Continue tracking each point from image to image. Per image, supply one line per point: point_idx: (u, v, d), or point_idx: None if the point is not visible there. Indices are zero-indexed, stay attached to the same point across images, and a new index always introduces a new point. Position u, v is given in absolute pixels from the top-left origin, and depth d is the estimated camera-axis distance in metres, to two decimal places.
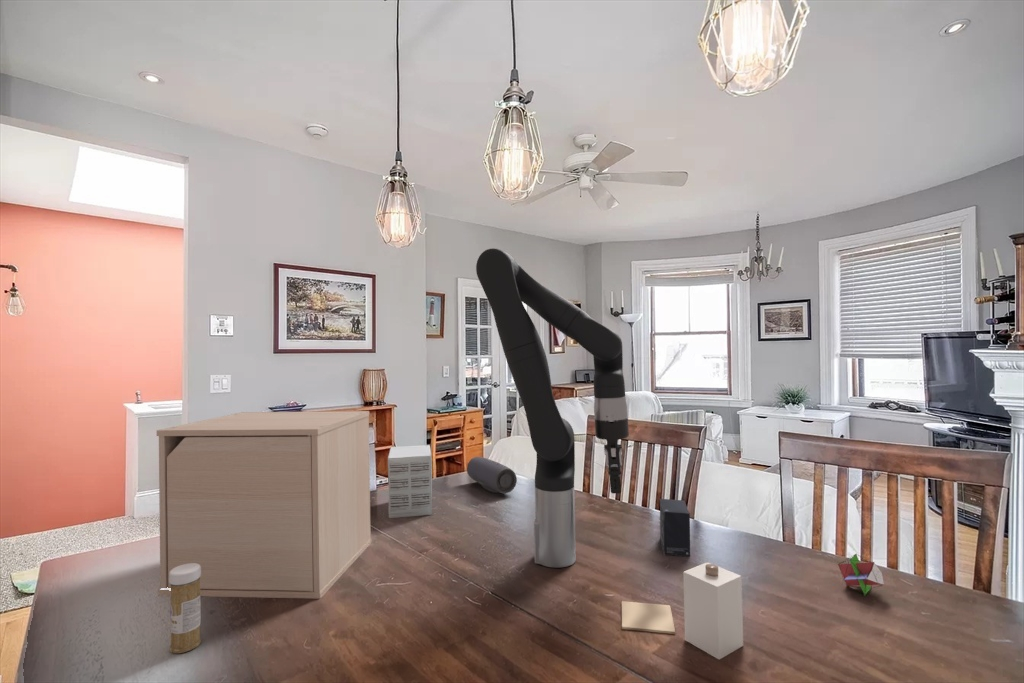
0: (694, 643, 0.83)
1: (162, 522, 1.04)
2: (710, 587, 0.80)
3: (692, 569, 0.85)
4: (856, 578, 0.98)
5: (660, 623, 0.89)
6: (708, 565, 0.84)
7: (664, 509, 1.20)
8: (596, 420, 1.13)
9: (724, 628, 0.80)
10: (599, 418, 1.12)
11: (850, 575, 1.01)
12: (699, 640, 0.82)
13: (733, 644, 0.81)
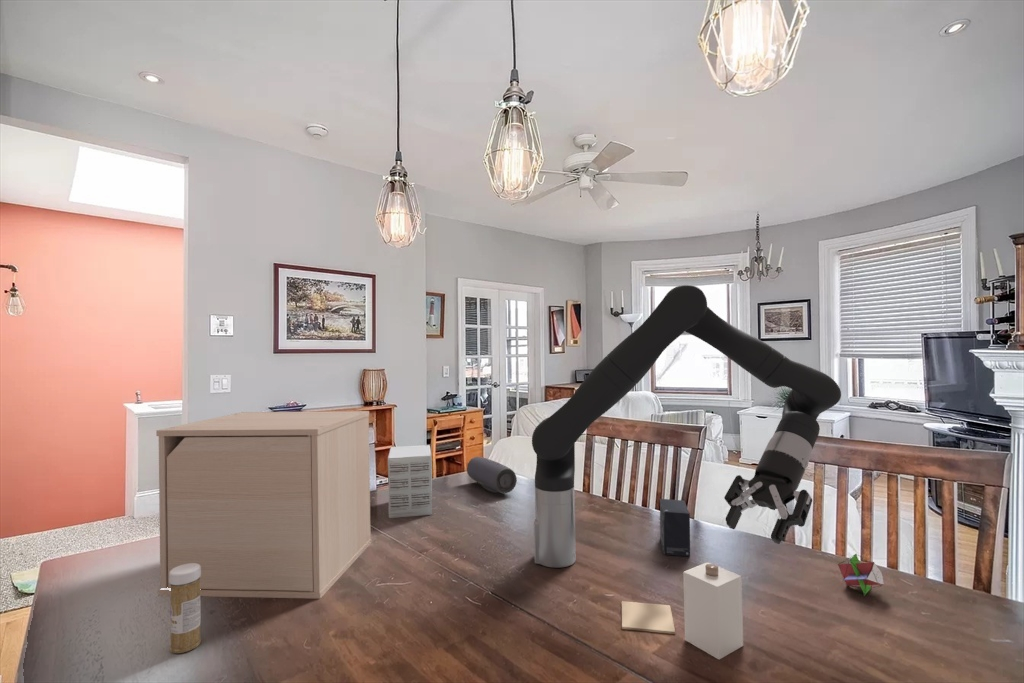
0: (694, 643, 0.83)
1: (162, 523, 1.04)
2: (710, 587, 0.80)
3: (692, 569, 0.85)
4: (856, 578, 0.98)
5: (660, 623, 0.89)
6: (708, 565, 0.84)
7: (664, 509, 1.20)
8: (785, 454, 0.93)
9: (724, 628, 0.80)
10: (793, 454, 0.93)
11: (850, 575, 1.01)
12: (699, 640, 0.82)
13: (733, 644, 0.81)
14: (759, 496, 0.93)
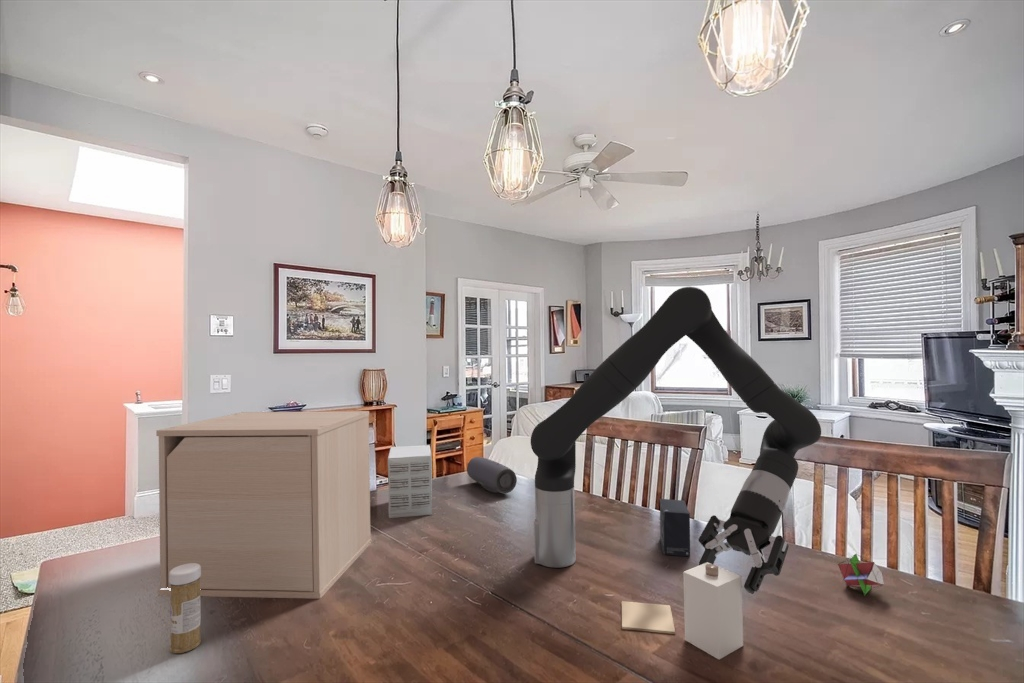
0: (694, 643, 0.83)
1: (162, 523, 1.04)
2: (710, 587, 0.80)
3: (692, 569, 0.85)
4: (856, 578, 0.98)
5: (660, 623, 0.89)
6: (708, 565, 0.84)
7: (664, 509, 1.20)
8: (761, 495, 0.89)
9: (724, 628, 0.80)
10: (769, 496, 0.89)
11: (850, 575, 1.01)
12: (699, 640, 0.82)
13: (733, 644, 0.81)
14: (734, 540, 0.89)
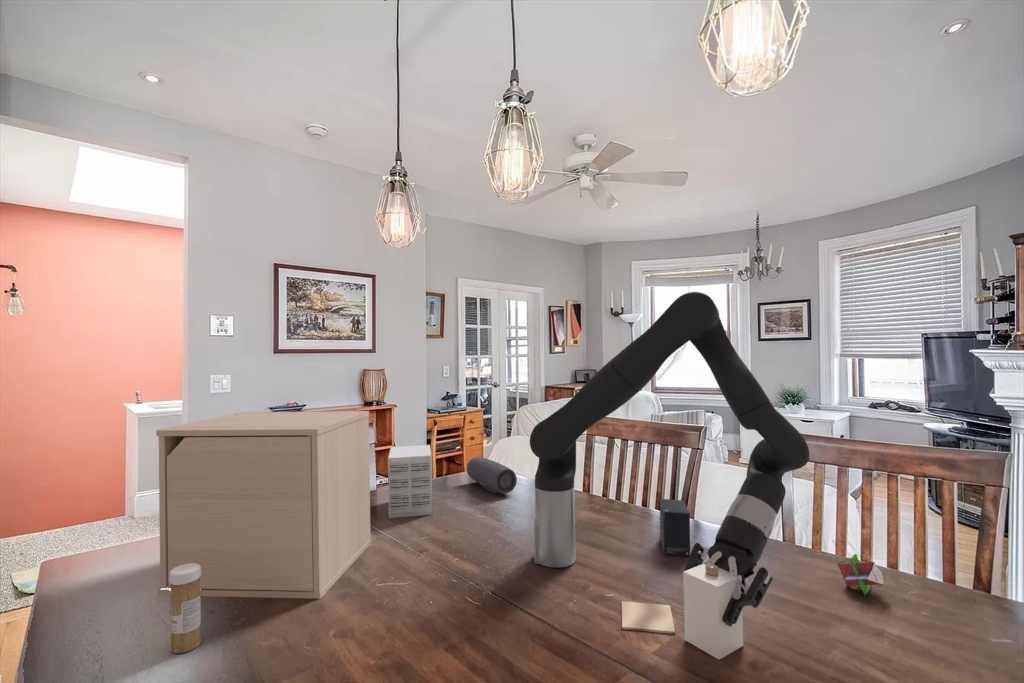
0: (694, 643, 0.83)
1: (162, 523, 1.04)
2: (710, 587, 0.80)
3: (692, 569, 0.85)
4: (856, 578, 0.98)
5: (660, 623, 0.89)
6: (708, 565, 0.84)
7: (664, 509, 1.20)
8: (746, 521, 0.86)
9: (724, 628, 0.80)
10: (754, 523, 0.86)
11: (850, 575, 1.01)
12: (699, 640, 0.82)
13: (733, 644, 0.81)
14: None
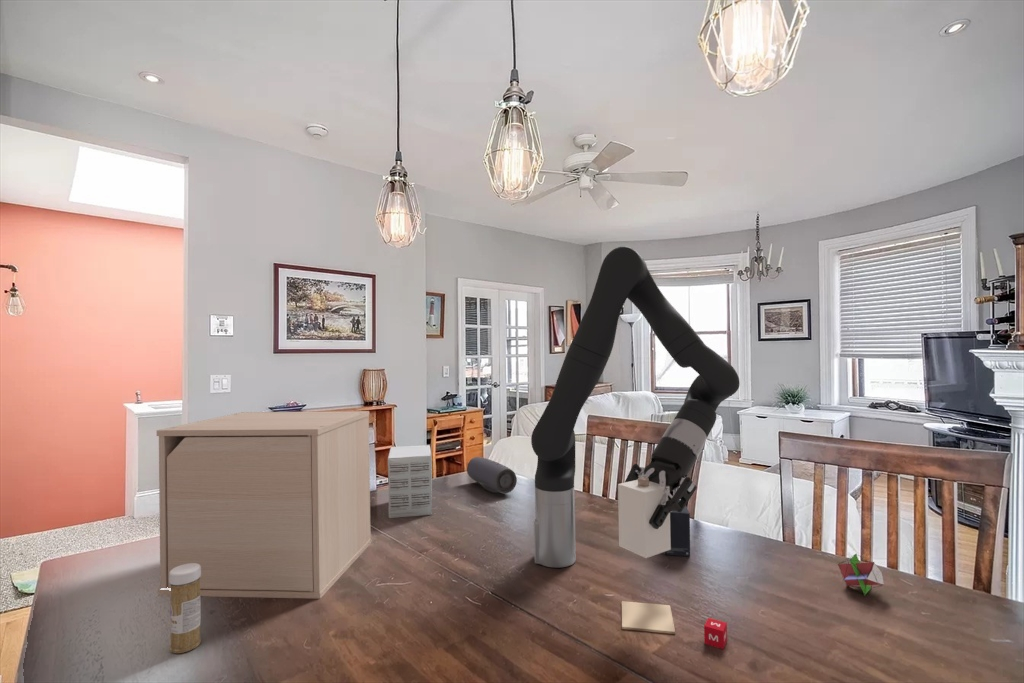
0: (626, 547, 0.91)
1: (162, 522, 1.04)
2: (639, 494, 0.88)
3: (626, 482, 0.94)
4: (856, 578, 0.98)
5: (660, 623, 0.89)
6: (640, 478, 0.92)
7: None
8: (677, 440, 0.94)
9: (651, 531, 0.88)
10: (684, 441, 0.94)
11: (850, 575, 1.01)
12: (630, 544, 0.90)
13: (660, 546, 0.89)
14: None
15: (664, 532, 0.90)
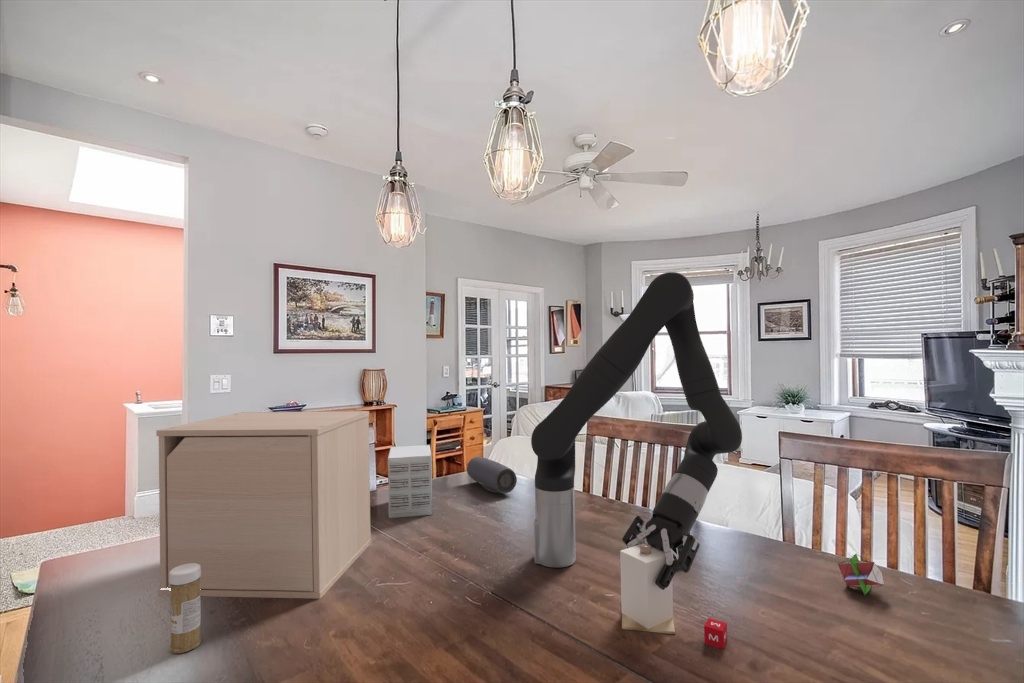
0: (629, 615, 0.91)
1: (162, 523, 1.04)
2: (641, 563, 0.88)
3: (629, 548, 0.94)
4: (856, 578, 0.98)
5: None
6: (642, 544, 0.92)
7: None
8: (678, 497, 0.94)
9: (654, 601, 0.88)
10: (685, 498, 0.94)
11: (850, 575, 1.01)
12: (633, 612, 0.90)
13: (662, 615, 0.89)
14: (652, 539, 0.94)
15: (666, 601, 0.90)
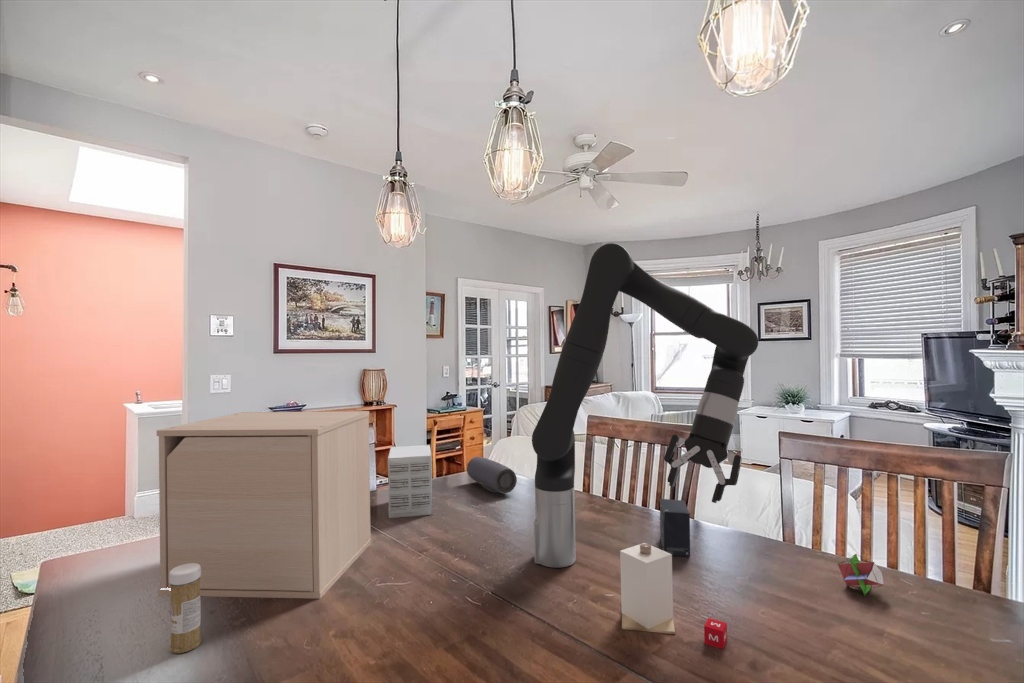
0: (629, 615, 0.91)
1: (162, 522, 1.04)
2: (641, 563, 0.88)
3: (629, 548, 0.94)
4: (856, 578, 0.98)
5: None
6: (642, 544, 0.92)
7: (664, 509, 1.20)
8: (720, 420, 1.00)
9: (654, 601, 0.88)
10: (726, 419, 1.00)
11: (850, 575, 1.01)
12: (633, 612, 0.90)
13: (662, 615, 0.89)
14: (697, 459, 1.02)
15: (666, 601, 0.90)
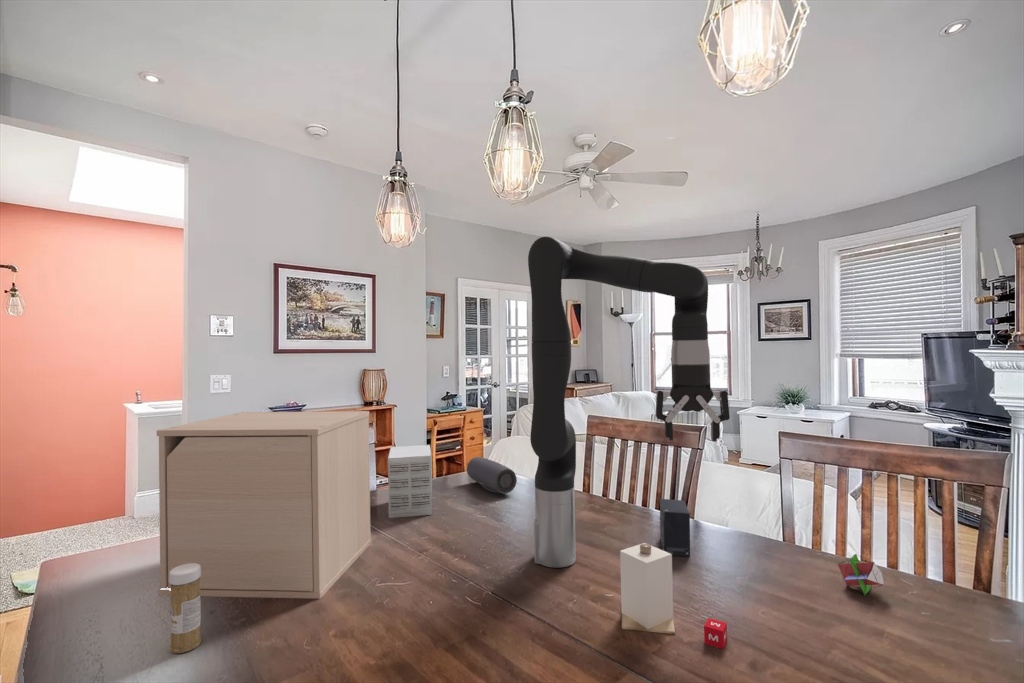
0: (629, 615, 0.91)
1: (162, 522, 1.04)
2: (641, 563, 0.88)
3: (629, 548, 0.94)
4: (856, 578, 0.98)
5: None
6: (642, 544, 0.92)
7: (664, 509, 1.20)
8: (701, 365, 1.00)
9: (654, 601, 0.88)
10: (706, 362, 1.01)
11: (850, 575, 1.01)
12: (633, 612, 0.90)
13: (662, 615, 0.89)
14: (688, 407, 1.03)
15: (666, 601, 0.90)
